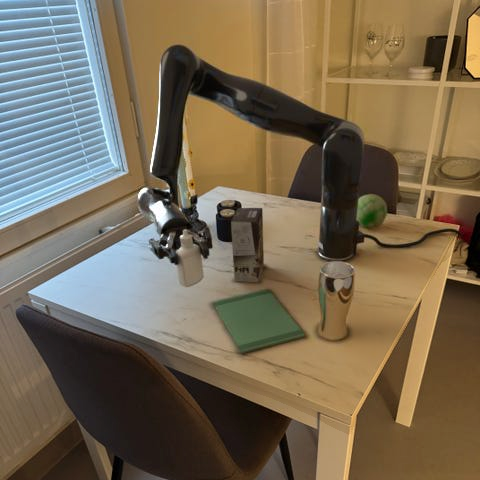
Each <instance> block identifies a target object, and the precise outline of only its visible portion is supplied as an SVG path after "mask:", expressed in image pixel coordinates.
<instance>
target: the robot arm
mask: <svg viewBox="0 0 480 480" xmlns="http://www.w3.org/2000/svg"><path fill="white" fill-rule="evenodd" d="M158 95H159V97H158V98H159V99H158V111H157V112H158V113H157V122H156V123H157V124H156V131H155V137H154V143H153V150H152V156H151V163H150V169H149V173H150V175H151V176H152V177H153V178H155V179H157V180H159V181H162V182H164V183H165V185H166V189H164V188H163V189H162V188H158V187H153V186H146V187H143V188H142V189H141V190H140V191H139V193H138V195H137V198H136V199H137V200H136V201H137V207H138V209H139V211H140V213H141V214H142V216H143V217H145V218H146V219H148V220H149V221H151V222H152V223H153V225H154V228H155V231H156V233H157V235H159V236H158V237H159V239H155V238H153V237H150V238H148V244H149V249H150V251H151V252H152V254H154V256H155V257H156V258H157V259H158V260H163V259H165V258H167V259H168V260H169V263H170V264H171V265H172V264H174V266H177V265H178V258H177V254H176V253H177V251H178V250H179V249H180V248H181V241H180V236H181V235H183V230H187V232H188V234H190V235H192V241H193V244H196V245H198V246H199V247H200V250H201V257H202V258H203V260H207V259H208V258H209V256H210V250H211V249H213V247H214V246H213V238H212V237H213V236H212V232H211V229H210V227H209V226H206V227H204V228H203V229H202V230H201V231H200V230H199V231H198V230H197V229H195V228H194V227H193V225H192V224H191V222H190V221H189V219H188V218H187V217H186V214H184V212H183V211H182V210H181V209H180V197H179V171H180V165H181V160H182V154H183V146H184V145H183V144H184V117H185V111H186V110H185V109H186V105H187V101H188V97H189V96H193V97H196V98H200V99H202V100H204V101H207V102H210V103H212V104H215V105H217V106H219V107H221V108H222V109H224V110H225V111H227V112H228V113H229V114H231V115H232V116H234V117H237V118H238V119H240V120H242V121H244V122H245V123H247V124H250V125H251V126H253V127H256V128H258V129H260V130H263V131H265V132H268V133H271V134H274V135H278V136H279V135H280V136H285V137H291V138H296V139H301V140H303V141H306V142H309V143H310V144H313V145H315V146H316V147H318V148H320V149H322V157H321V179H320V180H321V195H320V197H321V199H320V218H319V234H318V235H319V236H318V242H317V246H318V249H317V255H318V256H319V257H320V258H321V259H323V260H325V261H327V262H331V261H342V262H346V261H348V260H350V259H351V258H353V257H354V256H357V250H358V249H357V248H358V245H359V244H364V243H365V238H366V239H370V240H372V241H374V242H375V243H376V245H378V246H379V247H382V248H392V249H394V248H395V249H396V248H397V249H399V248H407V247H408V248H409V247H412V246H413V247H414V246H417V245H420V244H422V243H423V242H424V241H425V240H426V239H427V238H428V237H430V236H433V235H438V234H442V233H443V234H444V233H454V234H455V235H458V236H463V233H462V232H461V231H460V230H458V229H456V228H442V229H437V230H433V231H429V232H427V233H425V234H424V235H423V236H422V237H421V238H420V239H419V240H416V241H412V242H407V243H401V244H400V243H399V244H390V243H384V242H381V241H380V240H379V239H378V238H377V237H376V236H373V235H371V234H368V233H364V232H363V231H361V230H360V226H359V221H357V220H356V219H357V209H358V199H359V198H360V189H361V188H360V187H361V177H362V167H363V160H364V159H363V158H364V148H365V134H364V132H363V130H362V128H361V127H360V126H359V125H358V124H357V123H355V122H353V121H350V120H347V119H344V118H341V117H337V116H334V115H332V114H328V113H325V112H323V111H320V110H317V109H315V108H313V107H311V106H309V105H307V104H306V103H304V102H302V101H301V100H299V99H296V98H295V97H293V96H290V95H288V94H287V93H285V92H283V91H281V90H279V89H276V88H274V87H273V86H270V85H268V84H266V83H263V82H260V81H258V80H256V79H251V78H248V77H244V76H239V75H235V74H231V73H228V72H226V71H223V70H221V69H220V68H218V67H217V66H214V65H213V64H211V63H209V62H207V61H205V59H203V58H201V57H200V56H198V55H197V54H196V53H195V52H194V51H193V50H192V49H190V47H188V46H186V45H184V44H178V43H177V44H172V45H170V46H169V47H167V48H166V49H165V50H164V52H163V53H162V55H161V58H160V61H159V94H158Z"/></svg>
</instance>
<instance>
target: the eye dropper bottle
mask: <svg viewBox="0 0 480 480" xmlns="http://www.w3.org/2000/svg"><path fill="white" fill-rule="evenodd" d="M180 241H181V248H180V249H179V250H177V252H176V254H177V258H178V265H176V269H177V274H178V280H179V281H178V282H179V285H181V286H182V287H184V288H191V287H193V286H196V285H197V284H199V283H201V282H202V281H203V280H204V277H205V275H204V266H203V259H202V258H203V256H202V255H201V250H200V247H199V246H198V245H196V244H193V241H192V235H190V234H188V232H187V230H183V235H181V236H180Z"/></svg>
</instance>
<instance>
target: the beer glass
mask: <svg viewBox="0 0 480 480" xmlns="http://www.w3.org/2000/svg"><path fill="white" fill-rule="evenodd" d="M355 272H356V269H355V267H354V266H353V265H352V264H350V263H349V262H346V261H327V262H325V263H323V264H322V265H320V268H319V276H318V277H319V278H318V283H317V286H318V287H317V296H318V304H319V305H318V306H319V311H320V319H319V323H318V327H317V333H318V334H319V336H320V337H322V338H323V339H326V340H330V341H337V340H341V339H344V338H345V337H346V336H347V335H348V324H347V321H348V315H349V311H350V308H351V305H352V302H353V299H354V292H355V285H356V283H355V281H356V280H355V276H356V274H355Z"/></svg>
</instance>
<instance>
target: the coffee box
mask: <svg viewBox="0 0 480 480" xmlns="http://www.w3.org/2000/svg"><path fill="white" fill-rule="evenodd" d="M263 222H264V220H263V207H238V208H237V209H236V211H235V213H234V215H233V217H232V219H231V221H230V226H231V229H230V230H231V245H232V260H233V261H232V262H233V276H234V277H233V278H234V279H233V280H234V281H235V282H245V283H246V282H249V283H259V280H260V279H261V276H262V275H261V274H262V272H263V269H264V266H265V261H264V260H265V257H264V256H265V255H264V253H265V251H264V223H263Z"/></svg>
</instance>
